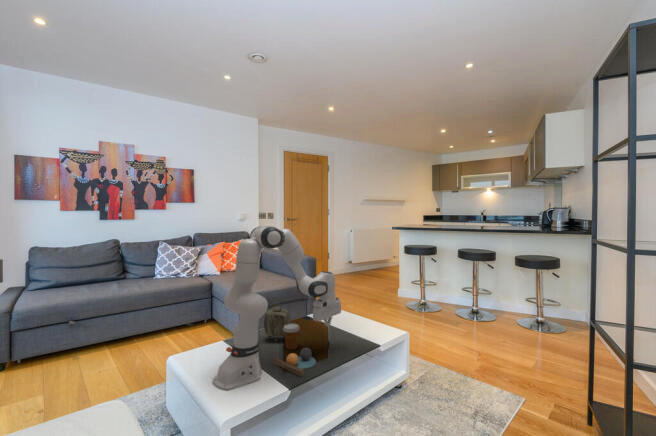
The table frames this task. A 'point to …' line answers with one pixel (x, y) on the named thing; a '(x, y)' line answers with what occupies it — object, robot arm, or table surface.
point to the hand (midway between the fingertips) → (327, 325)
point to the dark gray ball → (305, 353)
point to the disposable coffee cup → (291, 335)
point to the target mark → (305, 363)
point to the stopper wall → (288, 367)
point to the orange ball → (292, 359)
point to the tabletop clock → (276, 320)
